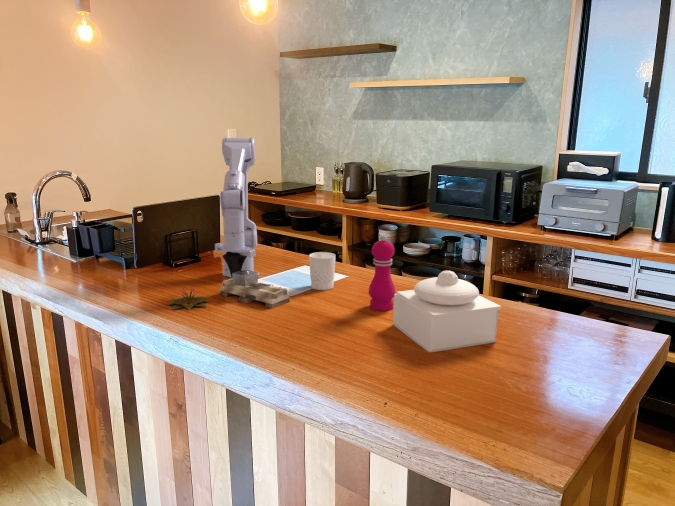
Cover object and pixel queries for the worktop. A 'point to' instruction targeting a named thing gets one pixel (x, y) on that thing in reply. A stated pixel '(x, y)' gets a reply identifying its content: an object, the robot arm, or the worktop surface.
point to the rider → (245, 277)
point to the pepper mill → (382, 276)
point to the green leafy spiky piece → (188, 301)
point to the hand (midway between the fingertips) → (235, 277)
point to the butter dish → (445, 314)
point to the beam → (256, 293)
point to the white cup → (322, 270)
